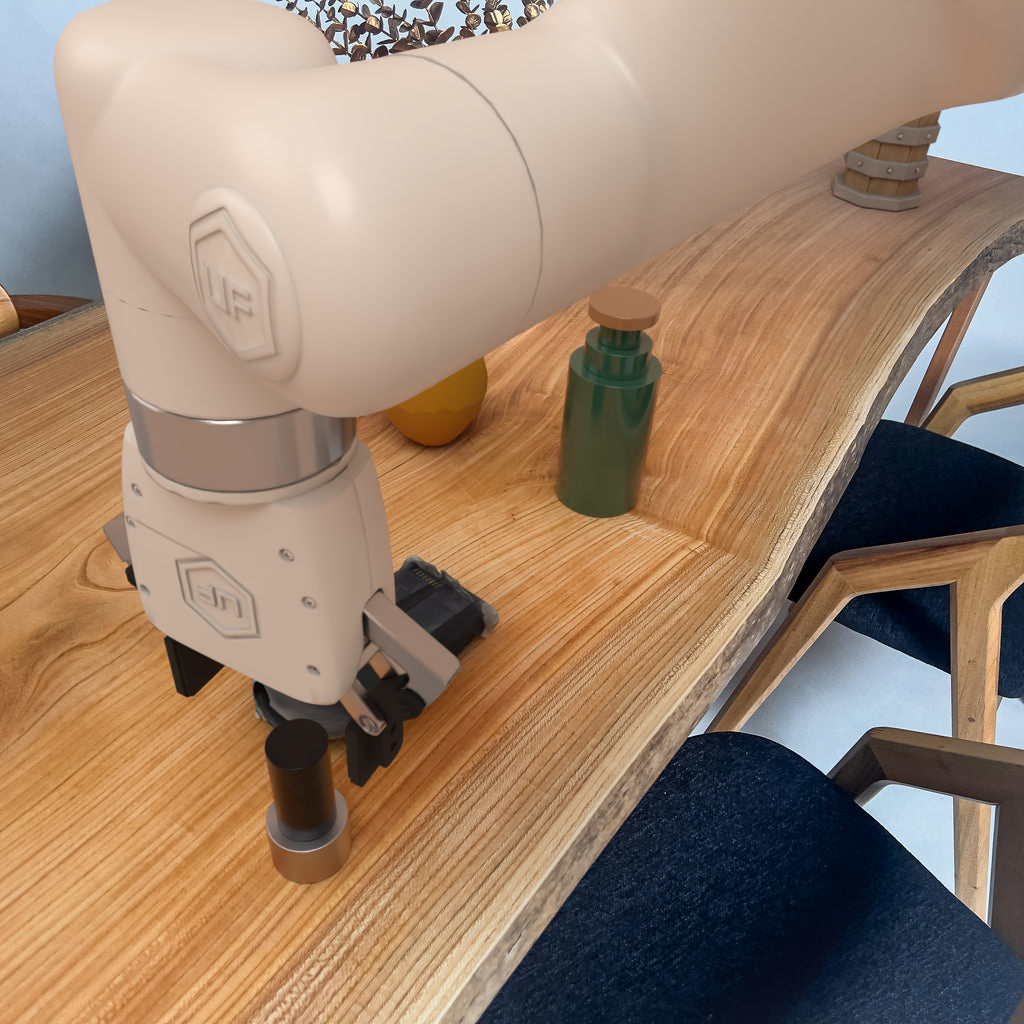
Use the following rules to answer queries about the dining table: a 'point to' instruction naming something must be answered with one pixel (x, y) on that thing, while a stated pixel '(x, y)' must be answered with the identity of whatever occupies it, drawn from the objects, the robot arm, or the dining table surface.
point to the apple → (442, 407)
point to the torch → (305, 804)
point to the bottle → (609, 405)
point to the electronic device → (424, 600)
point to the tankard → (889, 167)
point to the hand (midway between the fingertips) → (287, 717)
